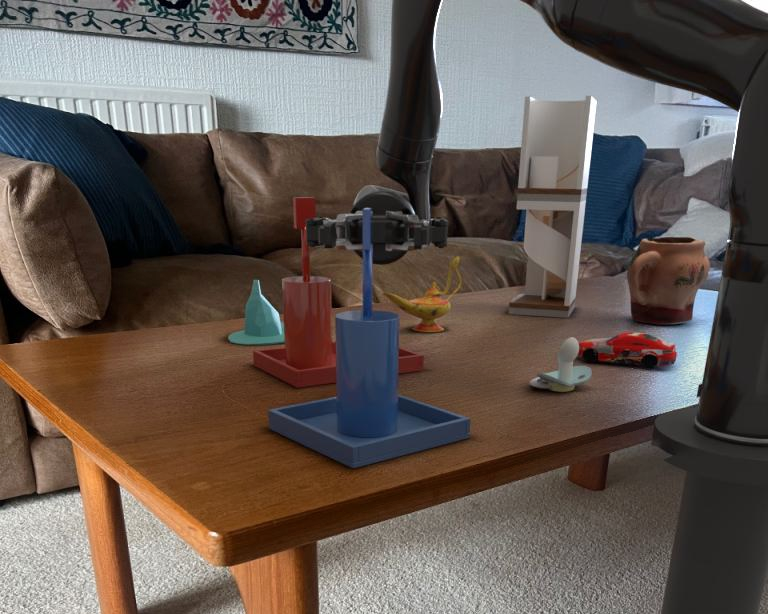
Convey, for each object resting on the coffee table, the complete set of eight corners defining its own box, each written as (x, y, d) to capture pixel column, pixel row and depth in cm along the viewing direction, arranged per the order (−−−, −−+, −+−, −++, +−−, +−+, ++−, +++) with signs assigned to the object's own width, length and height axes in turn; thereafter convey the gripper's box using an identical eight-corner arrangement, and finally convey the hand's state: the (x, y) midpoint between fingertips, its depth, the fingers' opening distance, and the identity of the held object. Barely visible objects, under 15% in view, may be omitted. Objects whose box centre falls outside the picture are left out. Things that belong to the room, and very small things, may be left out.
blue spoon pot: (340, 418, 80) (338, 206, 72) (398, 420, 80) (403, 207, 72) (333, 437, 75) (329, 209, 66) (395, 438, 74) (399, 210, 66)
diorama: (346, 327, 128) (346, 273, 125) (270, 349, 112) (267, 287, 109) (287, 319, 134) (285, 267, 130) (206, 339, 118) (202, 280, 115)
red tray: (371, 351, 112) (371, 337, 111) (423, 370, 102) (424, 355, 101) (253, 365, 103) (252, 350, 102) (297, 388, 93) (296, 371, 92)
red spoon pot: (319, 360, 104) (315, 196, 96) (340, 370, 99) (338, 198, 91) (277, 365, 101) (270, 196, 93) (298, 375, 96) (292, 198, 88)
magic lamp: (364, 333, 123) (364, 261, 119) (444, 321, 134) (447, 254, 130) (394, 340, 119) (395, 265, 114) (474, 327, 130) (478, 257, 125)
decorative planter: (665, 335, 125) (679, 244, 119) (596, 325, 132) (607, 238, 127) (715, 320, 138) (729, 237, 133) (650, 311, 146) (661, 232, 140)
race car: (571, 361, 107) (574, 332, 106) (580, 354, 112) (583, 326, 110) (671, 372, 102) (675, 341, 100) (676, 363, 106) (681, 334, 105)
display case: (518, 304, 152) (534, 101, 138) (574, 308, 149) (596, 101, 135) (508, 313, 142) (524, 96, 128) (567, 317, 139) (591, 95, 125)
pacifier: (517, 387, 95) (555, 397, 90) (520, 335, 92) (559, 342, 88) (559, 379, 99) (596, 388, 94) (563, 329, 96) (602, 335, 92)
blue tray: (379, 405, 86) (380, 387, 86) (469, 438, 76) (470, 418, 75) (268, 428, 78) (267, 409, 77) (353, 468, 68) (352, 447, 67)
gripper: (319, 190, 87) (296, 193, 72) (447, 191, 87) (449, 194, 72) (321, 260, 90) (299, 277, 75) (445, 261, 90) (447, 279, 75)
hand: (372, 237), depth 74 cm, fingers open, 8 cm apart
